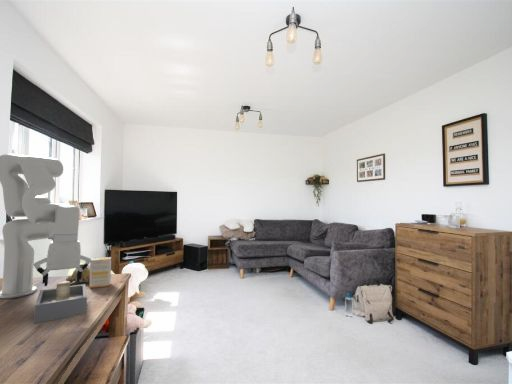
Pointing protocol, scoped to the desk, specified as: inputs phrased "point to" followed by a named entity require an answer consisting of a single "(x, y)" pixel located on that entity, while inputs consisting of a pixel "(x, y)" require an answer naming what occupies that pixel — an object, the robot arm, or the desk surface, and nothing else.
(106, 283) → the supplement box
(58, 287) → the peg
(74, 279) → the ceramic sculpture
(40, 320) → the bore box
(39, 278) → the desk surface
